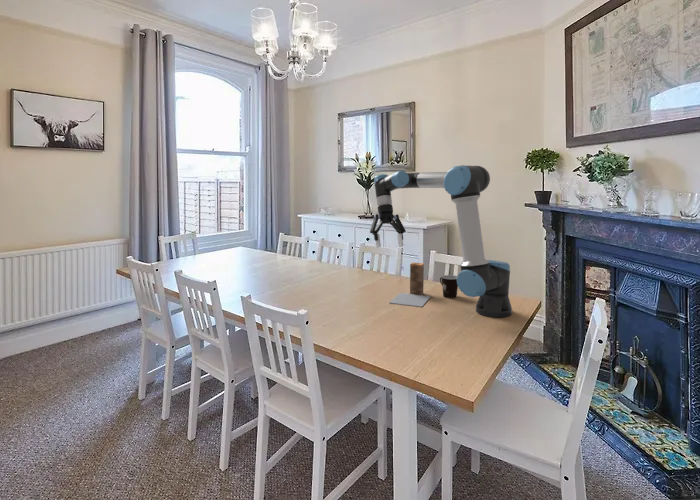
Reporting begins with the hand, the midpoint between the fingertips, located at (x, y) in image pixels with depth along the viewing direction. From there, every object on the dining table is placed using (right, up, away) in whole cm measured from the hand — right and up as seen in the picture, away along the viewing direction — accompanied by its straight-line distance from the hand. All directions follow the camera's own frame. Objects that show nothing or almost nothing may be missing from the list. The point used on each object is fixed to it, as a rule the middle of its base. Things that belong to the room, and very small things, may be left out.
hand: (390, 246), depth 200 cm
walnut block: (+15, -24, +8) cm, 29 cm away
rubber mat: (+10, -26, -2) cm, 28 cm away
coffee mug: (+30, -25, +4) cm, 40 cm away
